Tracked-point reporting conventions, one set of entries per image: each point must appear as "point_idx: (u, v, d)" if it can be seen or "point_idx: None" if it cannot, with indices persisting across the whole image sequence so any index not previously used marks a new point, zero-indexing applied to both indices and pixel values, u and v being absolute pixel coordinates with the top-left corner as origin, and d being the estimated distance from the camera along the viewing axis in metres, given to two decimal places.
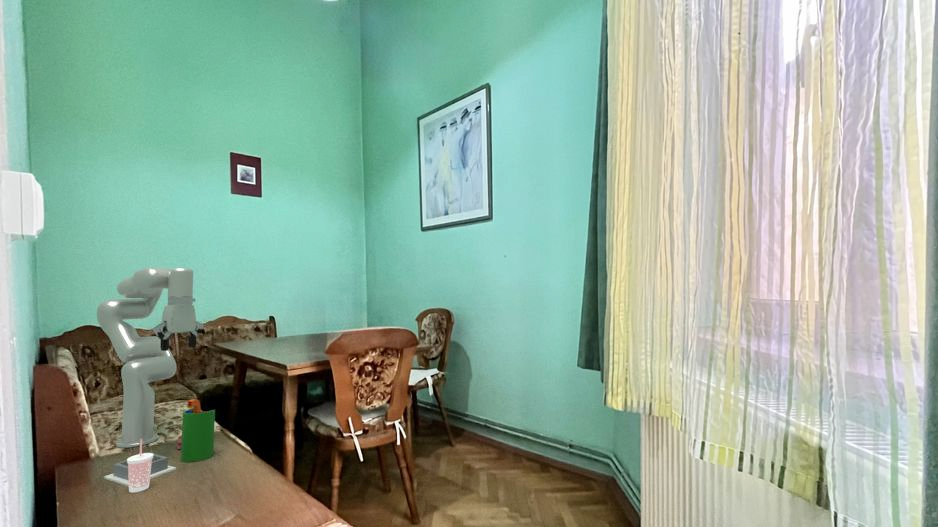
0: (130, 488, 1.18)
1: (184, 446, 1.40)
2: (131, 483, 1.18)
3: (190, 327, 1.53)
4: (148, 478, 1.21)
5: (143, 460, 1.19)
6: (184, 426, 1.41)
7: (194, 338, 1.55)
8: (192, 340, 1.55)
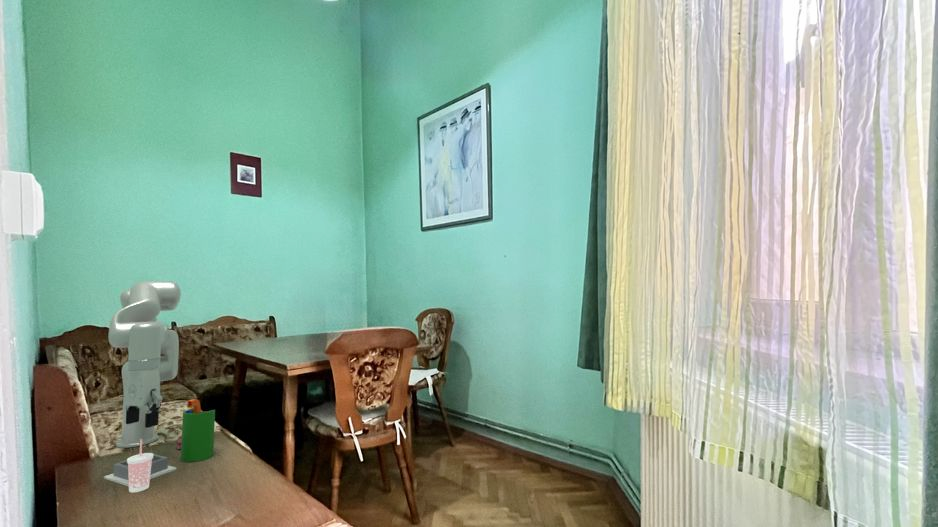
0: (130, 488, 1.18)
1: (184, 446, 1.40)
2: (131, 483, 1.18)
3: None
4: (148, 478, 1.21)
5: (143, 460, 1.19)
6: (184, 426, 1.41)
7: (138, 410, 1.25)
8: (136, 413, 1.24)
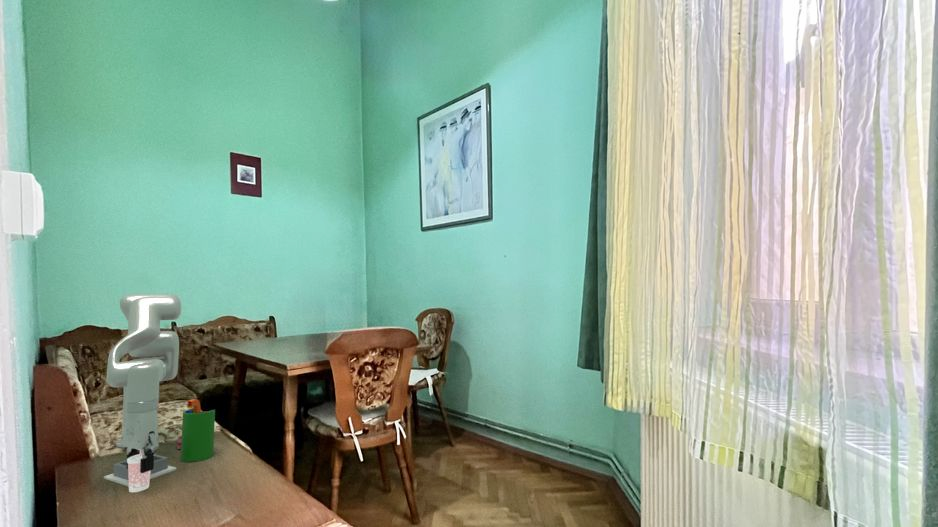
0: (130, 488, 1.18)
1: (184, 446, 1.40)
2: (131, 483, 1.18)
3: None
4: (148, 478, 1.21)
5: None
6: (184, 426, 1.41)
7: None
8: None
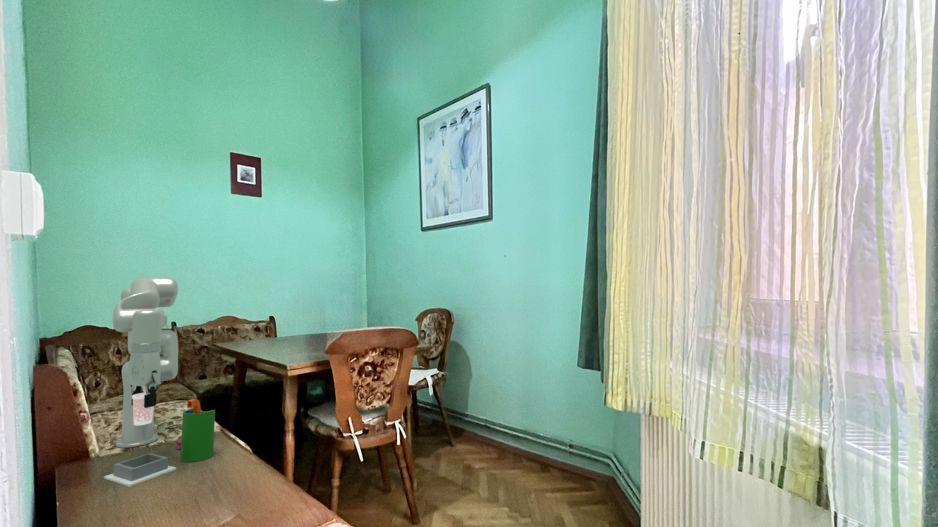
0: (134, 422, 1.30)
1: (184, 446, 1.40)
2: (136, 417, 1.30)
3: None
4: (151, 414, 1.32)
5: None
6: (184, 426, 1.41)
7: None
8: None
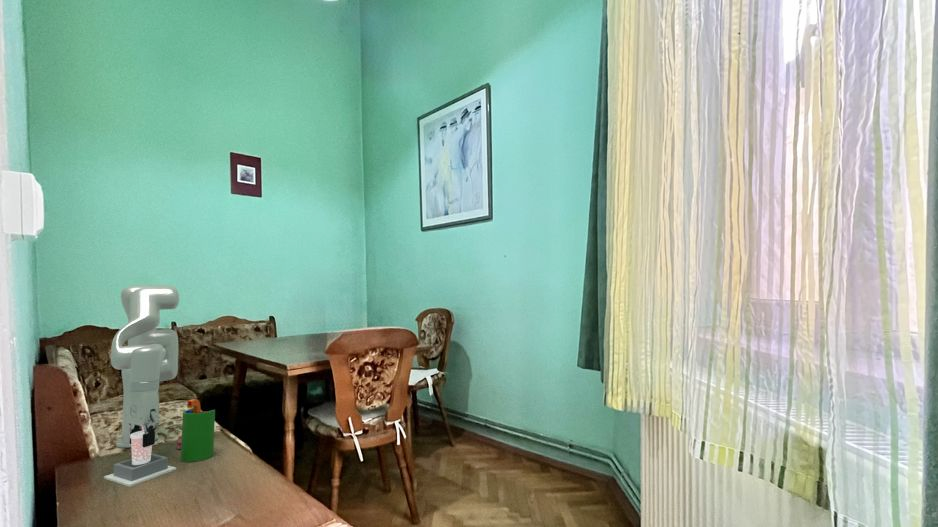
0: (133, 461, 1.29)
1: (184, 446, 1.40)
2: (134, 456, 1.29)
3: None
4: (149, 452, 1.31)
5: None
6: (184, 426, 1.41)
7: None
8: None
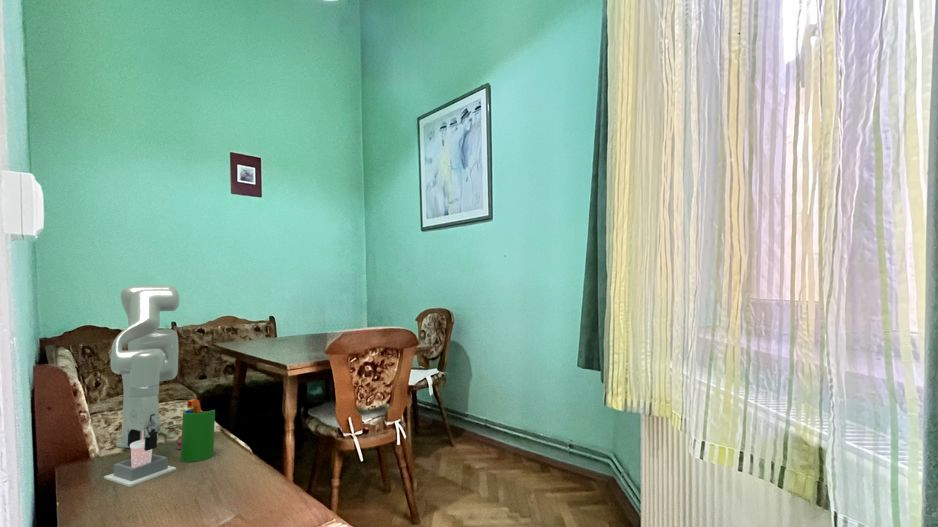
0: None
1: (184, 446, 1.40)
2: (133, 466, 1.29)
3: None
4: (149, 462, 1.31)
5: None
6: (184, 426, 1.41)
7: (139, 433, 1.35)
8: (137, 436, 1.34)
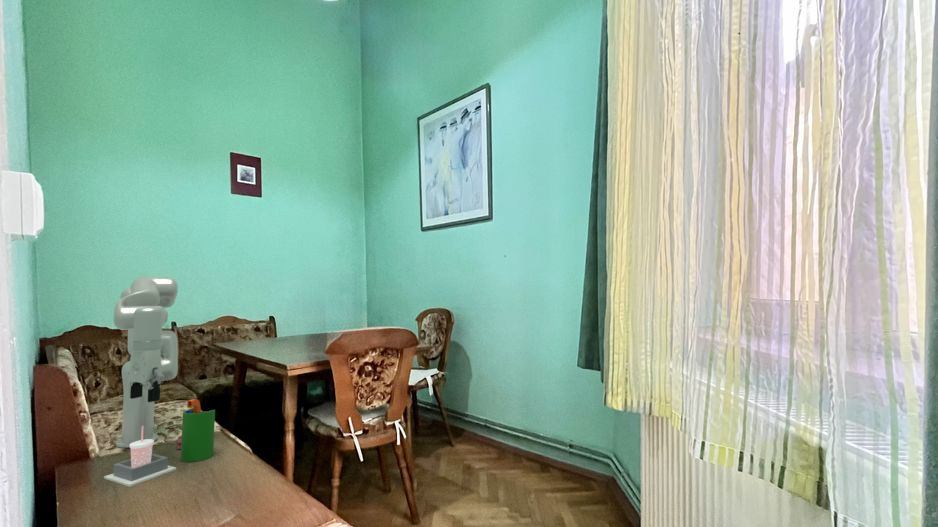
0: None
1: (184, 446, 1.40)
2: (133, 466, 1.29)
3: None
4: (149, 462, 1.31)
5: (144, 445, 1.30)
6: (184, 426, 1.41)
7: (142, 386, 1.37)
8: (139, 389, 1.36)
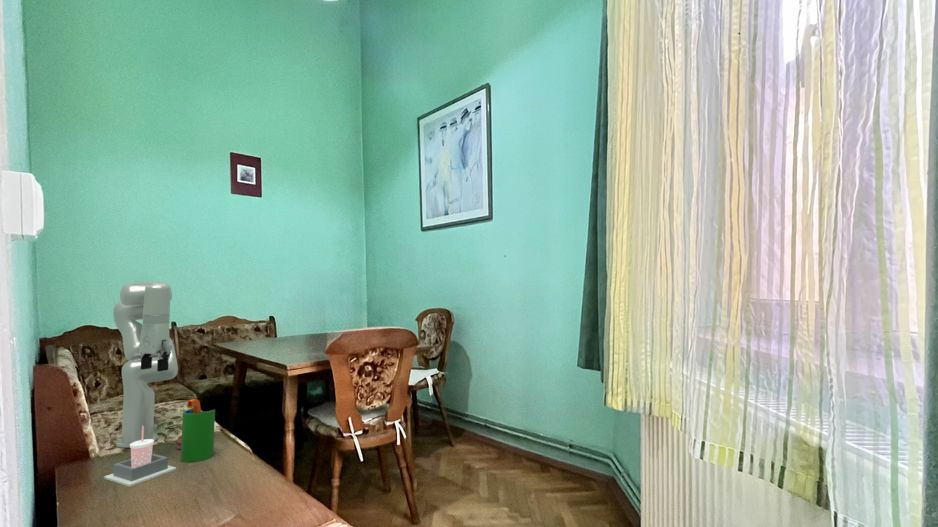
0: None
1: (184, 446, 1.40)
2: (133, 466, 1.29)
3: None
4: (149, 462, 1.31)
5: (145, 445, 1.30)
6: (184, 426, 1.41)
7: (151, 358, 1.48)
8: (149, 361, 1.47)
